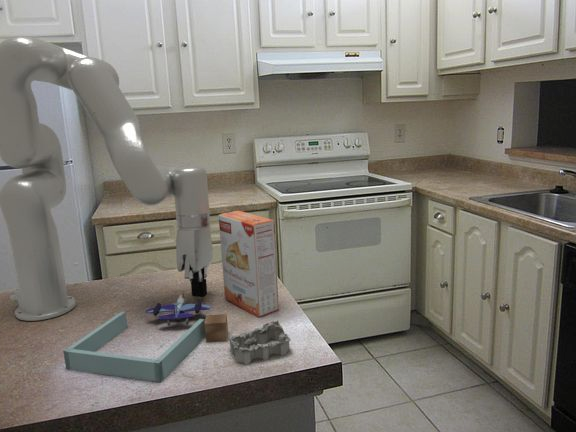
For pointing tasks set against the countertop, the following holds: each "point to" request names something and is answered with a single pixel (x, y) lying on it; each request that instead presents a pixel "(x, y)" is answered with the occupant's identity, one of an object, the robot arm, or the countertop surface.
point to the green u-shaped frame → (88, 360)
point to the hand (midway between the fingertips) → (199, 295)
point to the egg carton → (261, 337)
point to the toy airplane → (177, 309)
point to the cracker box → (249, 261)
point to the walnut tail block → (216, 328)
